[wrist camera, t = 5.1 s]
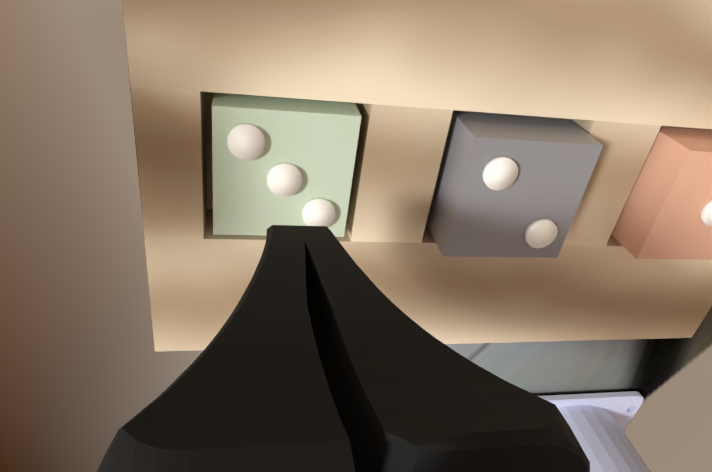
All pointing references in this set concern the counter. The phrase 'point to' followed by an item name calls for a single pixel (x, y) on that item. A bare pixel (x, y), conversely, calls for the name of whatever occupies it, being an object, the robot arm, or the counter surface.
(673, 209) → the terracotta tile
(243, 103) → the sage tile
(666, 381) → the counter surface
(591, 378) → the counter surface
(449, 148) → the charcoal tile
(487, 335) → the tile panel
